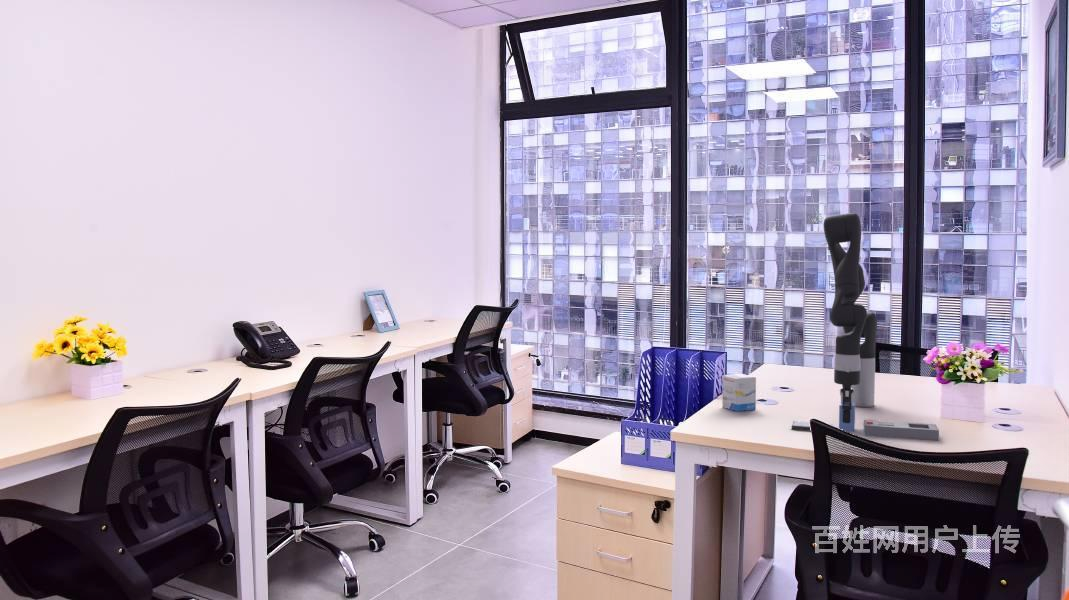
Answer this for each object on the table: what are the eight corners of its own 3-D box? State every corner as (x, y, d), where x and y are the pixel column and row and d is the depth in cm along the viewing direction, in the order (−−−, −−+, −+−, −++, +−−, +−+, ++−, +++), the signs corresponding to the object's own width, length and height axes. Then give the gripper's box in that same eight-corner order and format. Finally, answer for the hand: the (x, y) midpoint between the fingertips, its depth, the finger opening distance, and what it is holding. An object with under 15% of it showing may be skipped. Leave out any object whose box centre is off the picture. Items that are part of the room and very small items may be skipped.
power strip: (863, 429, 244) (863, 418, 243) (935, 434, 236) (935, 422, 236) (864, 435, 236) (864, 423, 236) (938, 440, 229) (939, 428, 229)
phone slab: (792, 424, 251) (792, 420, 250) (832, 427, 246) (832, 423, 246) (791, 429, 244) (791, 425, 244) (832, 432, 240) (832, 428, 240)
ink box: (756, 409, 273) (756, 376, 272) (736, 411, 270) (736, 378, 269) (741, 405, 281) (741, 372, 280) (721, 407, 278) (721, 374, 277)
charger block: (838, 427, 246) (839, 401, 246) (854, 428, 245) (854, 402, 244) (839, 430, 242) (839, 404, 242) (854, 431, 241) (854, 405, 240)
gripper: (834, 364, 250) (833, 414, 251) (834, 371, 237) (833, 424, 238) (859, 365, 247) (858, 416, 248) (861, 372, 234) (859, 425, 235)
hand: (846, 419), depth 243 cm, fingers open, 8 cm apart
